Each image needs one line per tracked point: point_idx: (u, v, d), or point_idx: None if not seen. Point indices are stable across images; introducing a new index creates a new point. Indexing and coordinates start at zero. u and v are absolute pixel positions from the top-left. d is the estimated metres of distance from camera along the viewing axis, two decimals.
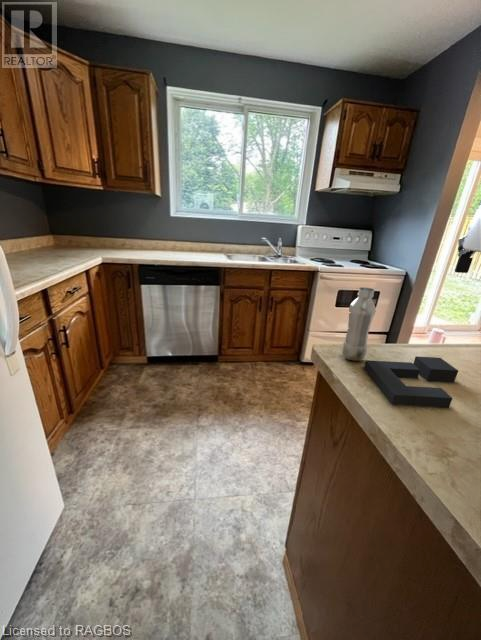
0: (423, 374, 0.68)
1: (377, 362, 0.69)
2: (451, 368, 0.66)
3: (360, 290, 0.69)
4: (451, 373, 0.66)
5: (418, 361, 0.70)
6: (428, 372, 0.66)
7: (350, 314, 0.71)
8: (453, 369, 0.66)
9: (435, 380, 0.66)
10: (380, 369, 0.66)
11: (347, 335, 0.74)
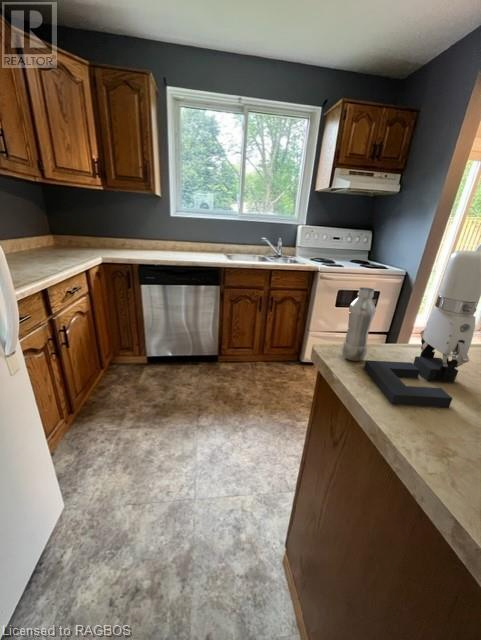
0: (423, 374, 0.68)
1: (377, 362, 0.69)
2: None
3: (360, 290, 0.69)
4: None
5: (418, 361, 0.70)
6: (428, 372, 0.66)
7: (350, 314, 0.71)
8: None
9: (435, 380, 0.66)
10: (380, 369, 0.66)
11: (347, 335, 0.74)
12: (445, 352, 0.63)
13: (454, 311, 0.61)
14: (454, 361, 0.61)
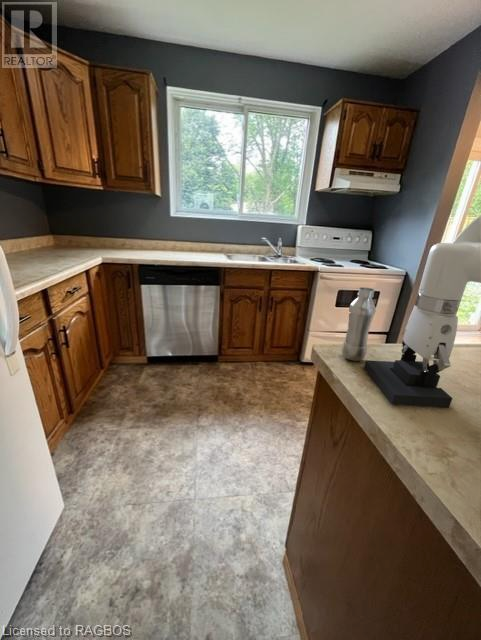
0: (402, 380, 0.62)
1: (377, 362, 0.69)
2: None
3: (360, 290, 0.69)
4: None
5: (397, 365, 0.64)
6: (408, 377, 0.60)
7: (350, 314, 0.71)
8: None
9: None
10: (380, 369, 0.66)
11: (347, 335, 0.74)
12: (425, 356, 0.57)
13: (434, 310, 0.54)
14: (435, 366, 0.55)
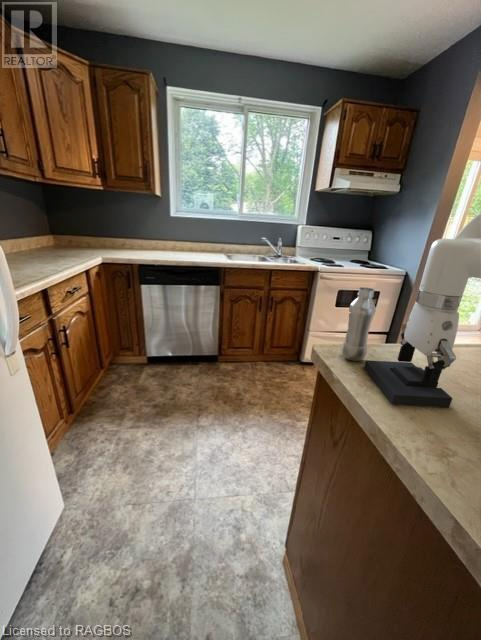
0: None
1: (377, 362, 0.69)
2: None
3: (360, 290, 0.69)
4: (430, 385, 0.60)
5: (396, 371, 0.65)
6: (406, 384, 0.61)
7: (350, 314, 0.71)
8: None
9: None
10: (380, 369, 0.66)
11: (347, 335, 0.74)
12: (426, 352, 0.56)
13: (435, 306, 0.54)
14: (441, 362, 0.54)
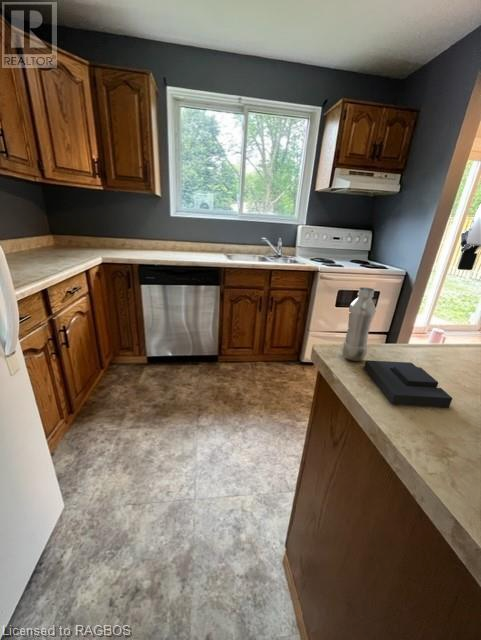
0: None
1: (377, 362, 0.69)
2: (431, 380, 0.60)
3: (360, 290, 0.69)
4: (430, 385, 0.60)
5: (396, 371, 0.65)
6: (406, 384, 0.61)
7: (350, 314, 0.71)
8: (433, 381, 0.60)
9: None
10: (380, 369, 0.66)
11: (347, 335, 0.74)
12: None
13: None
14: None
